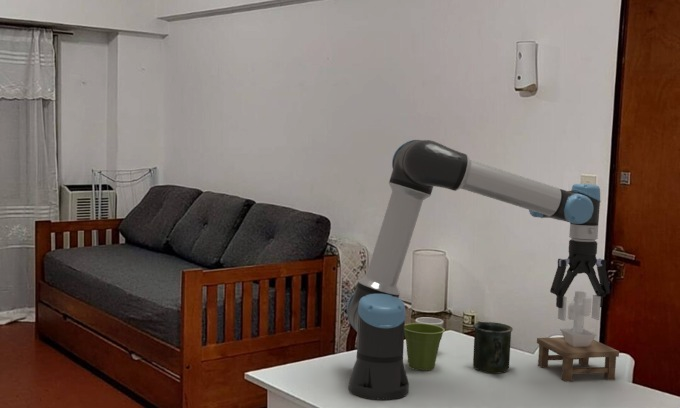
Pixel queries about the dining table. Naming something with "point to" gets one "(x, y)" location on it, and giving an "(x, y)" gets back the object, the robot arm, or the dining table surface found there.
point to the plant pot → (422, 344)
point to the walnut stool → (577, 357)
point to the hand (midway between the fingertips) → (578, 319)
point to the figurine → (579, 321)
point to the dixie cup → (430, 321)
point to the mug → (492, 347)
